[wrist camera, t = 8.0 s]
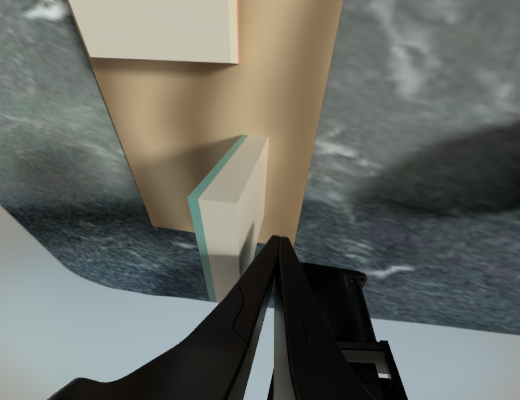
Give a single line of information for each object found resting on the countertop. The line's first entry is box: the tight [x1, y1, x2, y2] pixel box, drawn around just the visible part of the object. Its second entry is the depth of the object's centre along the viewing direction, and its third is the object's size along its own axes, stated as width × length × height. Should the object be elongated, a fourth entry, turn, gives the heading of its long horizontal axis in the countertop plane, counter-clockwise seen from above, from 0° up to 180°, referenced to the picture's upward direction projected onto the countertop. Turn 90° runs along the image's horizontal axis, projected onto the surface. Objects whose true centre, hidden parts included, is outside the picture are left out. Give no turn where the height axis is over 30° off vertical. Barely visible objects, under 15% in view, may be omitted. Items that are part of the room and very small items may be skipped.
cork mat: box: [66, 0, 343, 247], centre depth 13 cm, size 15×25×1 cm, turn 178°
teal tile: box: [187, 135, 269, 302], centre depth 12 cm, size 2×7×8 cm, turn 178°
